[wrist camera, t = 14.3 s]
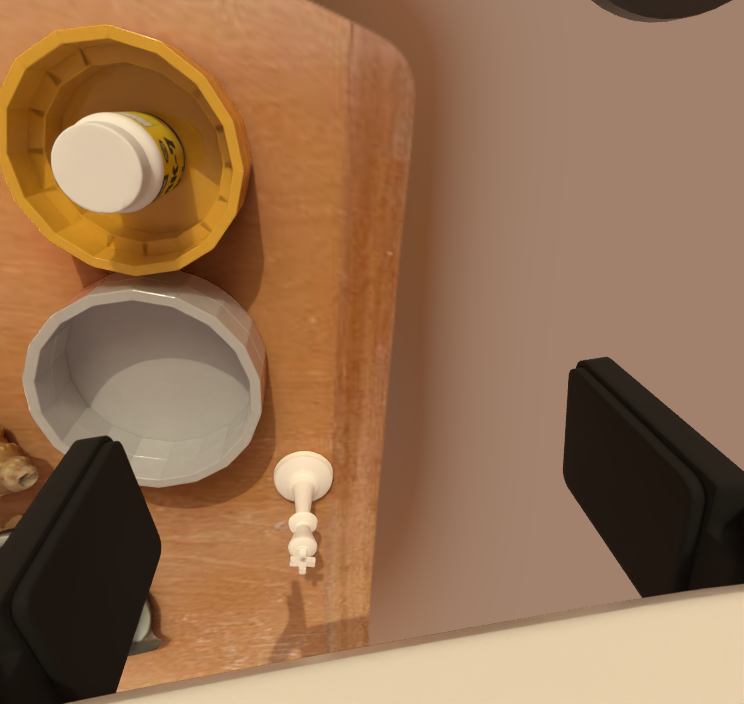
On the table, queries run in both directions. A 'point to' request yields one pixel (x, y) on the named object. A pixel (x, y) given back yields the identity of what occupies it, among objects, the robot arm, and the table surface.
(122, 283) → the gray round dish
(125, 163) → the supplement bottle
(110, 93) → the yellow bowl
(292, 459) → the chess piece
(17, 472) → the seashell
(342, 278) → the table surface
